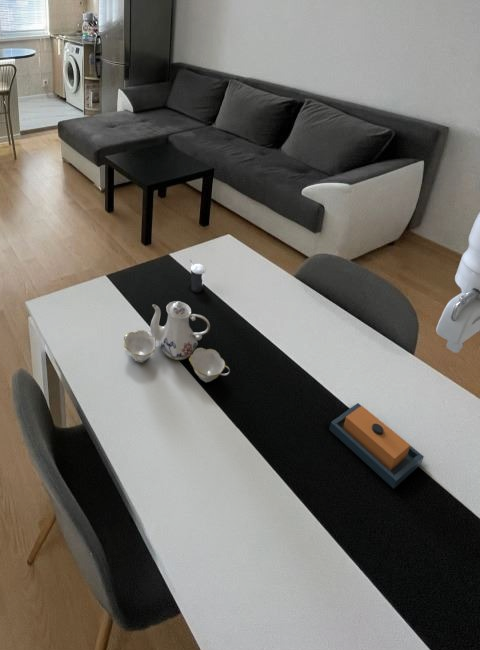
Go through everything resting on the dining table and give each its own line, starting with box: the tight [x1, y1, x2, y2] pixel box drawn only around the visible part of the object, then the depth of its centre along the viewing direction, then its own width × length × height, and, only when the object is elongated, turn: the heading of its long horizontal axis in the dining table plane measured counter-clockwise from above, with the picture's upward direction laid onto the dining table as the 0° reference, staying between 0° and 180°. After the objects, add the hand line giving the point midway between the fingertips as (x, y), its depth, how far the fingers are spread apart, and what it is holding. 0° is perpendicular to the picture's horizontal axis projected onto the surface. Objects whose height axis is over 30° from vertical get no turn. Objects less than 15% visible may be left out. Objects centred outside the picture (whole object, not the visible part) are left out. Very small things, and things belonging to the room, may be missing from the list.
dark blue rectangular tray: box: [328, 402, 425, 490], centre depth 91 cm, size 14×10×2 cm
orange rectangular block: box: [343, 405, 411, 471], centre depth 91 cm, size 10×6×5 cm, turn 27°
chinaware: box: [123, 300, 231, 383], centre depth 113 cm, size 28×17×17 cm, turn 73°
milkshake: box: [189, 259, 206, 293], centre depth 138 cm, size 4×5×10 cm
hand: (466, 339), depth 81 cm, fingers open, 8 cm apart
